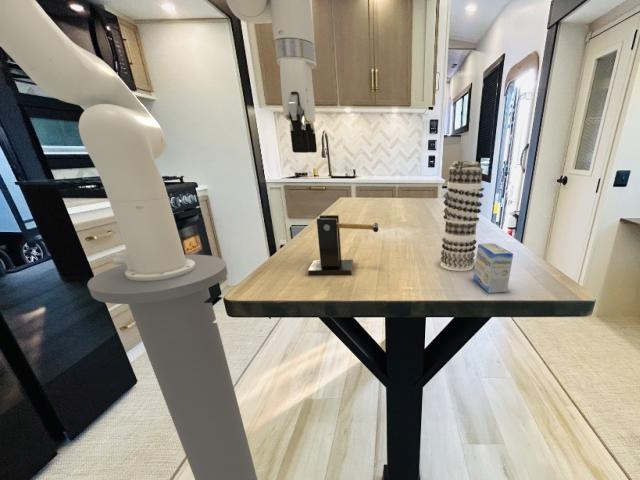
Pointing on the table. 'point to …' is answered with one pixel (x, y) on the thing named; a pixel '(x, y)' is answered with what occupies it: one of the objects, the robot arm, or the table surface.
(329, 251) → the lever bracket
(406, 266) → the table surface
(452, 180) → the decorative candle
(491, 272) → the medicine box
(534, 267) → the table surface
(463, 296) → the table surface
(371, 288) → the table surface
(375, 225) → the flush lever
